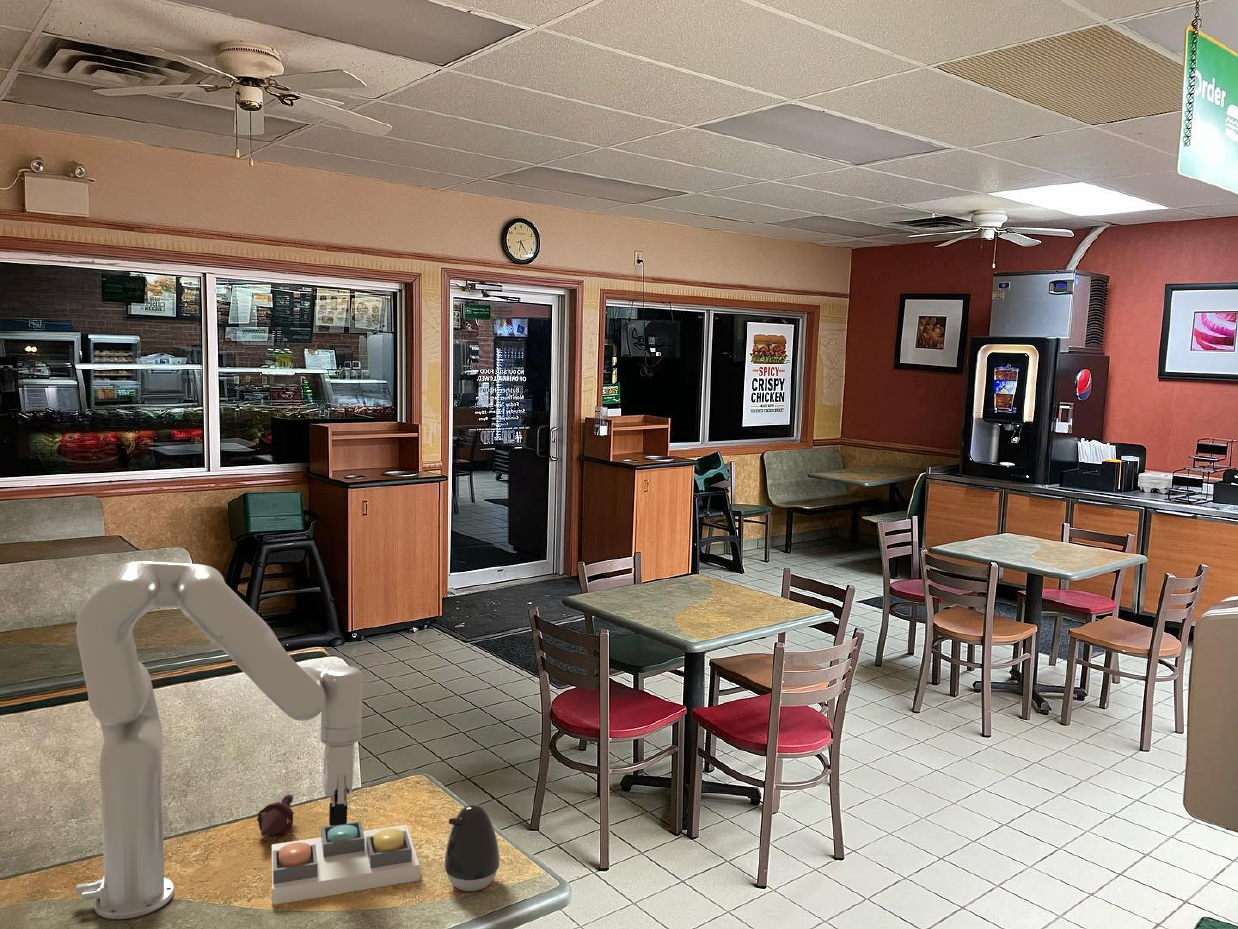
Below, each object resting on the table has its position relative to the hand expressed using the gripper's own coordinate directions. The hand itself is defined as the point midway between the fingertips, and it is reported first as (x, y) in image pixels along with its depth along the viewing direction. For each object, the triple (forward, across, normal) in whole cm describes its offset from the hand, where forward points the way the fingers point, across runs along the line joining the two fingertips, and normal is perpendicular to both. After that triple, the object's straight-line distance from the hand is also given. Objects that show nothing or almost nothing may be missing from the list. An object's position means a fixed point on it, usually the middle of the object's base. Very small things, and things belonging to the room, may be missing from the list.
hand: (337, 823), depth 179 cm
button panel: (+8, +4, +1) cm, 9 cm away
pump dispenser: (+7, +17, +23) cm, 29 cm away
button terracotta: (+3, +7, -8) cm, 11 cm away
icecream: (+8, -15, -11) cm, 20 cm away
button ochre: (+3, +7, +9) cm, 12 cm away
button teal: (+4, 0, +1) cm, 4 cm away
